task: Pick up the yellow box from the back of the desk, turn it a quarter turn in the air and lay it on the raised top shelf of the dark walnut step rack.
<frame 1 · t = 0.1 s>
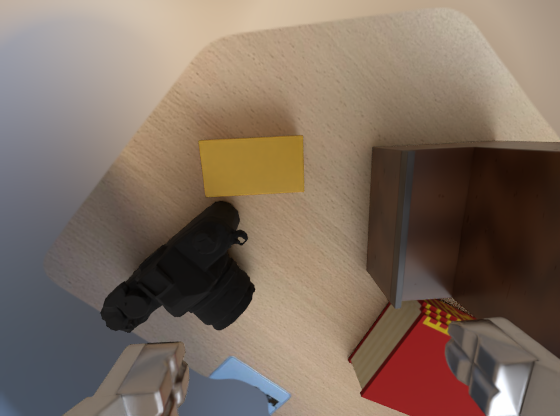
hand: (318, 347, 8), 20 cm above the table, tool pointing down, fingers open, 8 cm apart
film camera: (205, 261, 29), on the table
book: (431, 346, 34), on the table
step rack: (427, 209, 29), on the table
yellow box: (254, 163, 26), on the table
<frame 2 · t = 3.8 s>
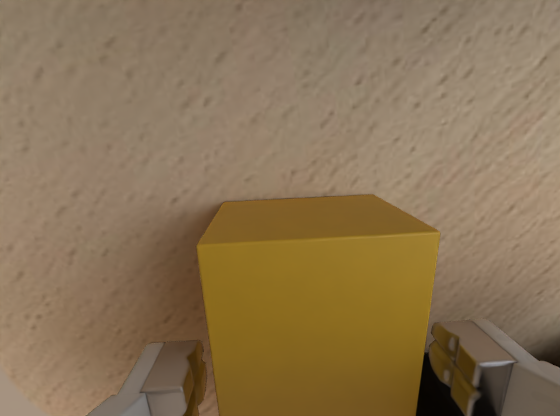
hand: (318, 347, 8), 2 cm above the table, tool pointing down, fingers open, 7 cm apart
film camera: (530, 412, 12), on the table, touching gripper
yellow box: (301, 313, 10), on the table
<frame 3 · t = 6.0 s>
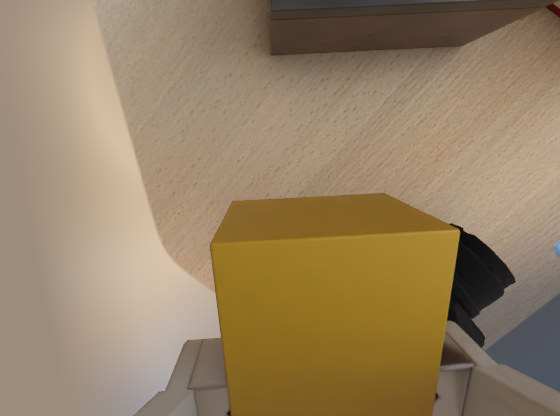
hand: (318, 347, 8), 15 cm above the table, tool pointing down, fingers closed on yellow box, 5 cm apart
film camera: (407, 272, 24), on the table
yellow box: (310, 315, 10), point 13 cm above the table, touching gripper
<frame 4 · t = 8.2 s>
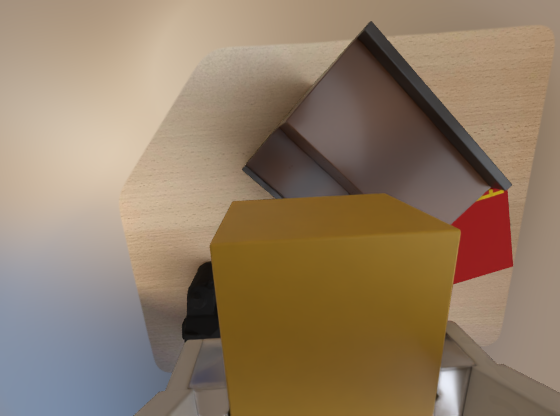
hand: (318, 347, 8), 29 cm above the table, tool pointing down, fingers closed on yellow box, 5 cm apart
film camera: (228, 301, 41), on the table
top shelf: (390, 152, 19), resting on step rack
book: (419, 231, 39), on the table
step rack: (317, 161, 35), on the table
yellow box: (310, 315, 10), point 27 cm above the table, touching gripper
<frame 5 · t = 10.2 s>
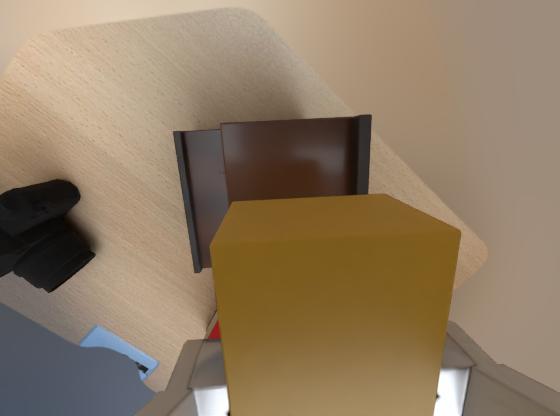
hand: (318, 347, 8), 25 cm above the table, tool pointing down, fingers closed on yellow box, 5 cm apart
film camera: (57, 235, 32), on the table
top shelf: (294, 244, 16), resting on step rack
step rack: (255, 189, 32), on the table
yellow box: (311, 315, 10), point 23 cm above the table, touching gripper
when the fingers open (20 cm above the table, at t = 11.9 s): yellow box stays where it is, resting on top shelf.
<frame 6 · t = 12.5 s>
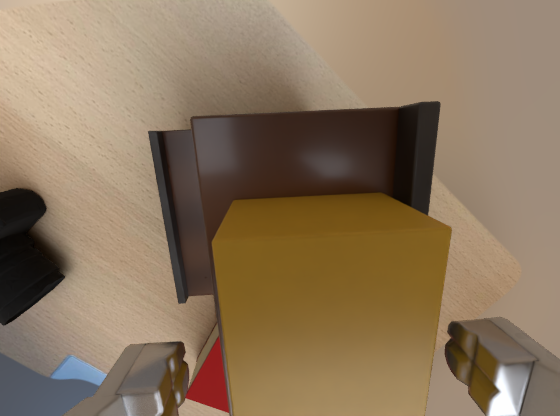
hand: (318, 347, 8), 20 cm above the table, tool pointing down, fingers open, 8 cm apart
film camera: (21, 253, 28), on the table
top shelf: (305, 292, 11), resting on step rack
book: (286, 345, 32), on the table
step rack: (253, 199, 27), on the table
yellow box: (309, 311, 10), point 18 cm above the table, touching top shelf
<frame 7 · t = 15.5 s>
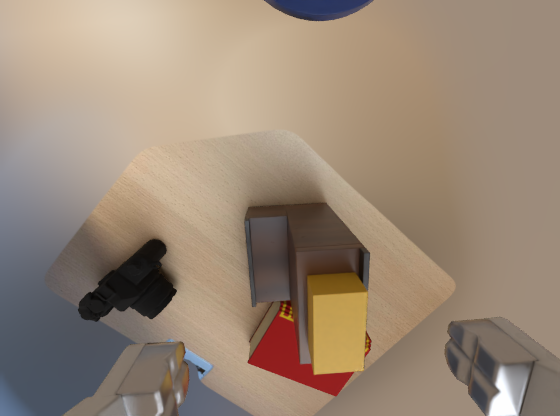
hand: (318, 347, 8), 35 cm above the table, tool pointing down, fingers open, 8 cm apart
film camera: (148, 276, 46), on the table
top shelf: (328, 304, 29), resting on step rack
book: (306, 332, 50), on the table
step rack: (288, 243, 45), on the table
yellow box: (330, 311, 28), point 18 cm above the table, touching top shelf
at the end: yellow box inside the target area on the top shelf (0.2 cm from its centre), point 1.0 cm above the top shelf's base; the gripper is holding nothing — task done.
